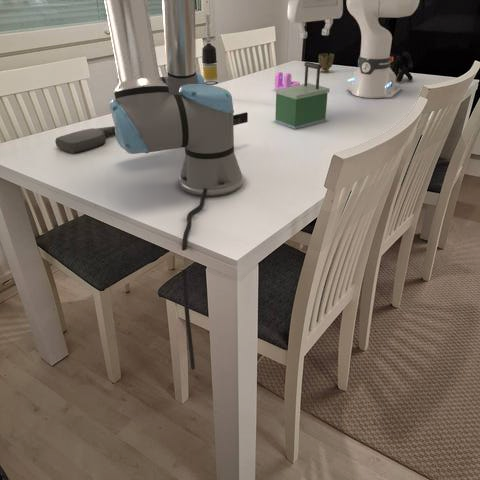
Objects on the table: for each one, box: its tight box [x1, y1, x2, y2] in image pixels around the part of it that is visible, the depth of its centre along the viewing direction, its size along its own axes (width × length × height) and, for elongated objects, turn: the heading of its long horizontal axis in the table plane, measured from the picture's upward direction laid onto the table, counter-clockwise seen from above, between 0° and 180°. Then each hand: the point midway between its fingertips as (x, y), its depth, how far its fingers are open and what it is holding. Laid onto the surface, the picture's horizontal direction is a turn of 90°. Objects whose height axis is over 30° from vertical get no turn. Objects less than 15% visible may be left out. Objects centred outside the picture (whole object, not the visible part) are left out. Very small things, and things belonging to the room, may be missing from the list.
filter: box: [201, 14, 219, 86], centre depth 171 cm, size 6×6×30 cm
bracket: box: [274, 71, 301, 91], centre depth 190 cm, size 13×6×7 cm, turn 143°
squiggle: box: [390, 51, 414, 83], centre depth 198 cm, size 11×10×15 cm
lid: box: [275, 61, 330, 100], centre depth 144 cm, size 14×10×9 cm
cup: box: [318, 52, 335, 73], centre depth 215 cm, size 8×7×8 cm
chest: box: [274, 93, 329, 130], centre depth 149 cm, size 14×10×9 cm
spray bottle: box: [54, 125, 115, 154], centre depth 138 cm, size 3×11×24 cm
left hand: (233, 111), depth 135 cm, fingers open, 13 cm apart
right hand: (314, 36), depth 140 cm, fingers open, 8 cm apart
